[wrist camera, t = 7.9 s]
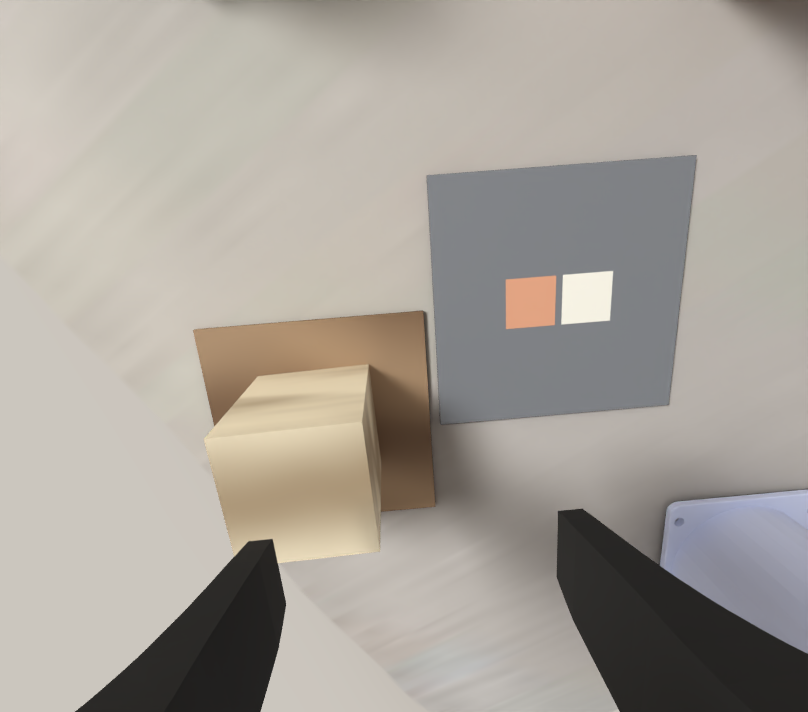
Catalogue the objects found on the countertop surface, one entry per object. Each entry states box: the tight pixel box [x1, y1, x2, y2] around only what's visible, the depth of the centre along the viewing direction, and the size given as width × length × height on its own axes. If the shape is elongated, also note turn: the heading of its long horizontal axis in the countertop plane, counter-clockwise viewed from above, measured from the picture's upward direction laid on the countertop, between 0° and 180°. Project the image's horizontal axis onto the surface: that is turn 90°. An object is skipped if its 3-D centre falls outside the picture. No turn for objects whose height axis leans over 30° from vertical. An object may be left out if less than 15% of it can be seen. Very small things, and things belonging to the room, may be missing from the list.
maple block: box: [204, 364, 381, 563], centre depth 17 cm, size 5×5×6 cm
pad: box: [193, 311, 435, 512], centre depth 20 cm, size 10×10×1 cm
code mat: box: [427, 155, 696, 425], centre depth 19 cm, size 11×11×1 cm
